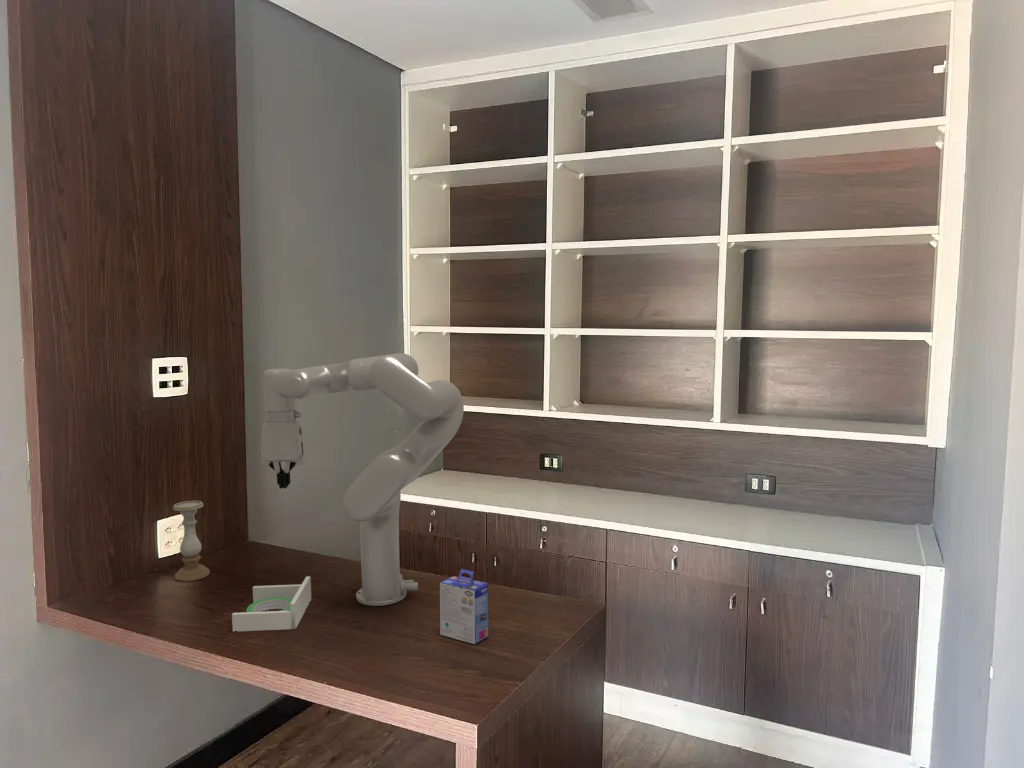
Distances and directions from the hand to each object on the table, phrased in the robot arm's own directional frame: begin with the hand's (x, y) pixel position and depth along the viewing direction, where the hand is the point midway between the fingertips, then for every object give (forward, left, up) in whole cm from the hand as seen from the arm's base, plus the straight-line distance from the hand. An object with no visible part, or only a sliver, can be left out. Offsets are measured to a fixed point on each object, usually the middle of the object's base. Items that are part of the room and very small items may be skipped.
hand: (284, 487), depth 185 cm
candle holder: (+29, -12, -27) cm, 42 cm away
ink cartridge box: (-46, +32, -27) cm, 62 cm away
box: (0, +16, -27) cm, 32 cm away
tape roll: (0, +17, -28) cm, 32 cm away
